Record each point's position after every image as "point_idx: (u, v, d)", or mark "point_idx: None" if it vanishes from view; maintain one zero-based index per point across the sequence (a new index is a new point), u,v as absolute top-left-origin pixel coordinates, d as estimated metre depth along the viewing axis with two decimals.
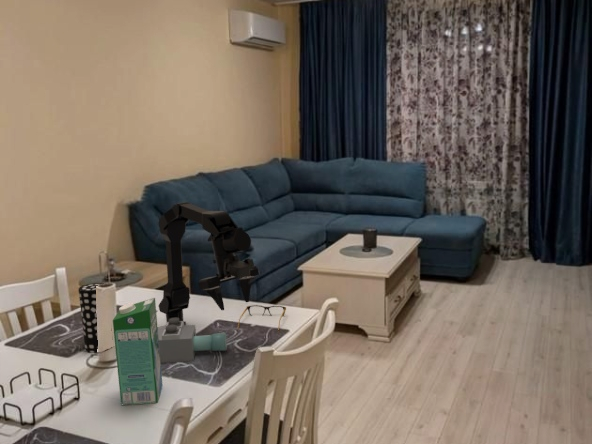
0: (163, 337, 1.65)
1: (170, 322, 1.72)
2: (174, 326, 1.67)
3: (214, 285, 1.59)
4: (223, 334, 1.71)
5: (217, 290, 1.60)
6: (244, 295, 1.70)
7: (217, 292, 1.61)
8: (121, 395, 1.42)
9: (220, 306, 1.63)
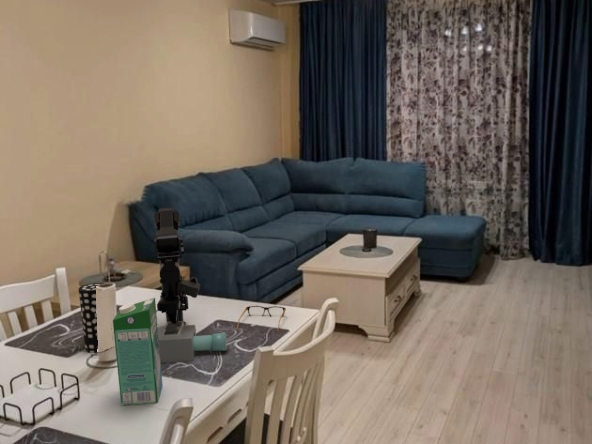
0: (163, 337, 1.65)
1: None
2: (174, 326, 1.67)
3: (179, 306, 1.64)
4: (223, 334, 1.71)
5: None
6: None
7: None
8: (121, 395, 1.42)
9: (173, 320, 1.72)
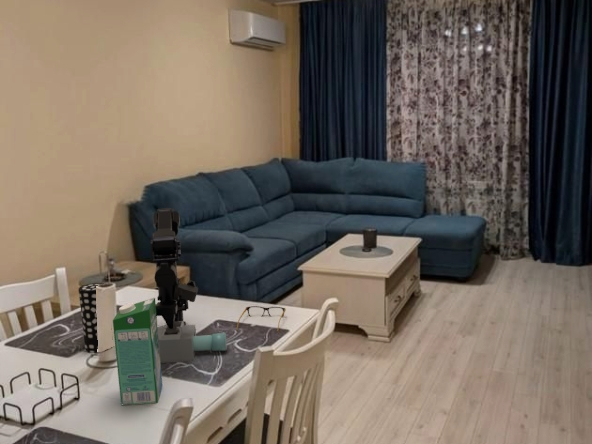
0: (163, 337, 1.65)
1: None
2: (174, 328, 1.67)
3: (176, 311, 1.58)
4: (223, 334, 1.71)
5: None
6: None
7: None
8: (121, 395, 1.42)
9: (170, 325, 1.66)
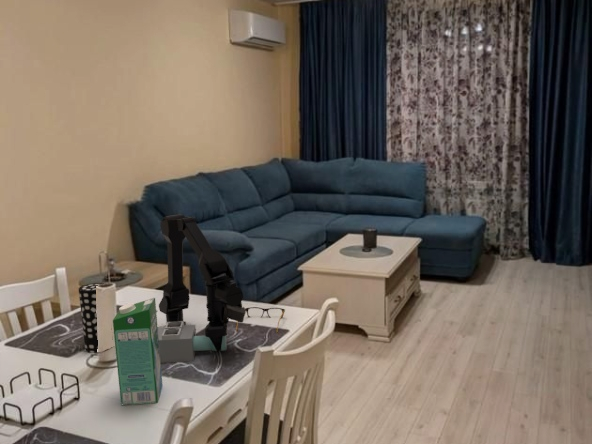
0: (163, 337, 1.65)
1: (170, 326, 1.72)
2: (174, 330, 1.67)
3: None
4: None
5: None
6: None
7: (223, 335, 1.67)
8: (121, 395, 1.42)
9: (218, 348, 1.69)
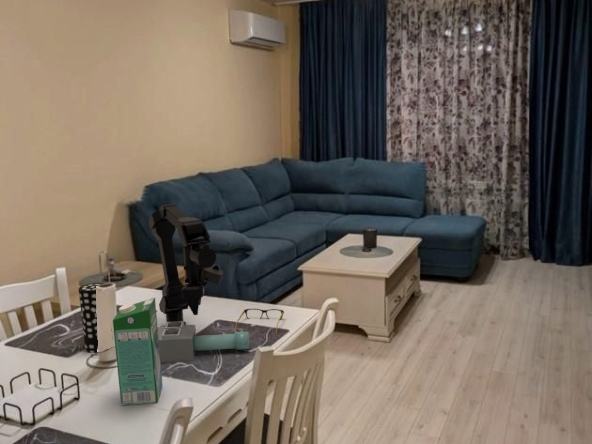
0: (163, 337, 1.65)
1: (170, 326, 1.72)
2: (174, 330, 1.67)
3: (203, 292, 1.66)
4: (246, 333, 1.72)
5: (201, 297, 1.67)
6: None
7: (200, 298, 1.68)
8: (121, 395, 1.42)
9: (195, 311, 1.70)
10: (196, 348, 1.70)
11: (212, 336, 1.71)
